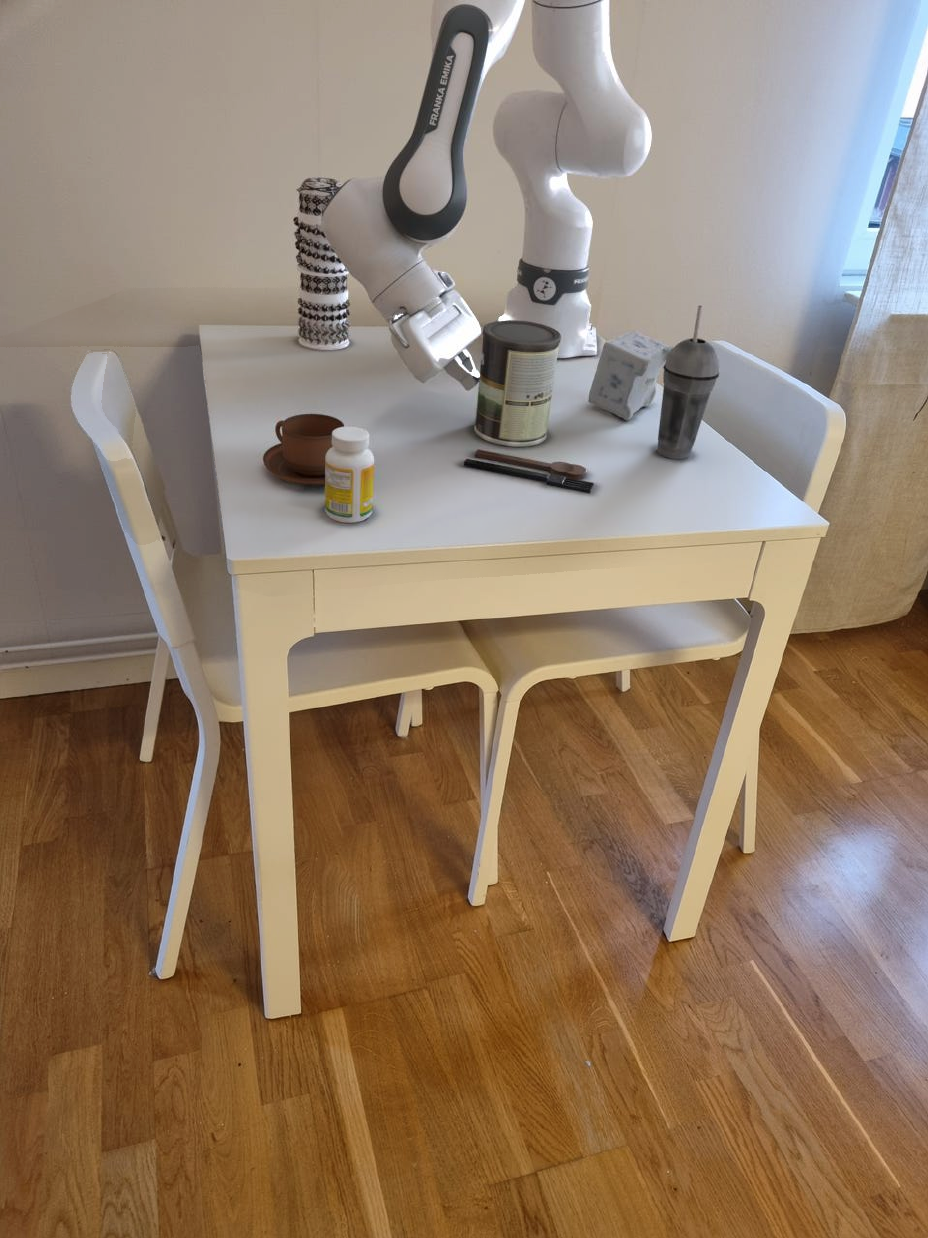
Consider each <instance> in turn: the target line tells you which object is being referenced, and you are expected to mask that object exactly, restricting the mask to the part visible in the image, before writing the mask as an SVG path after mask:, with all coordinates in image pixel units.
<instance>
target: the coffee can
mask: <svg viewBox="0 0 928 1238" xmlns="http://www.w3.org/2000/svg"><path fill="white" fill-rule="evenodd" d="M560 341H561V334H560V333H559V332H558V331H557V330H555V329H553V328H551V327H549V326H546V325H543V324H539V323H534V322H528V321H518V320H504V321H499V320H496V321H492V322H489V323H486V324H485V325H484V326H483V327H482V344H481V345H482V346H481V355H480V356H481V357H480V366H479V367H480V368H479V374H480V378H479V383H478V391H477V402H476V410H475V421H474V427H473V428H474V429H473V430H474V433H475V434H476V435H477V437H479V438H481V439H482V440H484V441H485V442H488V443H491V444H494V445H498V446H504V447H513V448H522V447H523V448H525V447H532V446H537V445H539V444H541V443H543V442H544V441H546V439H547V437H548V426H549V419H550V411H551V404H552V397H553V392H554V391H553V390H554V383H555V376H556V369H557V362H558V358H557V355H558V348H559V343H560Z"/></svg>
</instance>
